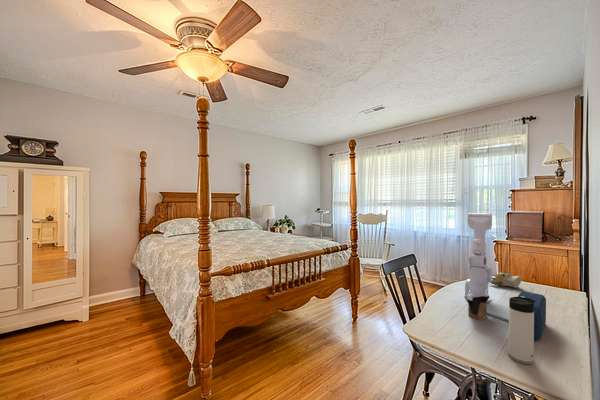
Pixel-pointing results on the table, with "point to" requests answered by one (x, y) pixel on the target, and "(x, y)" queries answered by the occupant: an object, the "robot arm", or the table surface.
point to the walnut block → (479, 311)
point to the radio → (537, 312)
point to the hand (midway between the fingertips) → (477, 312)
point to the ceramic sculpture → (506, 280)
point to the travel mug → (521, 329)
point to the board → (498, 311)
